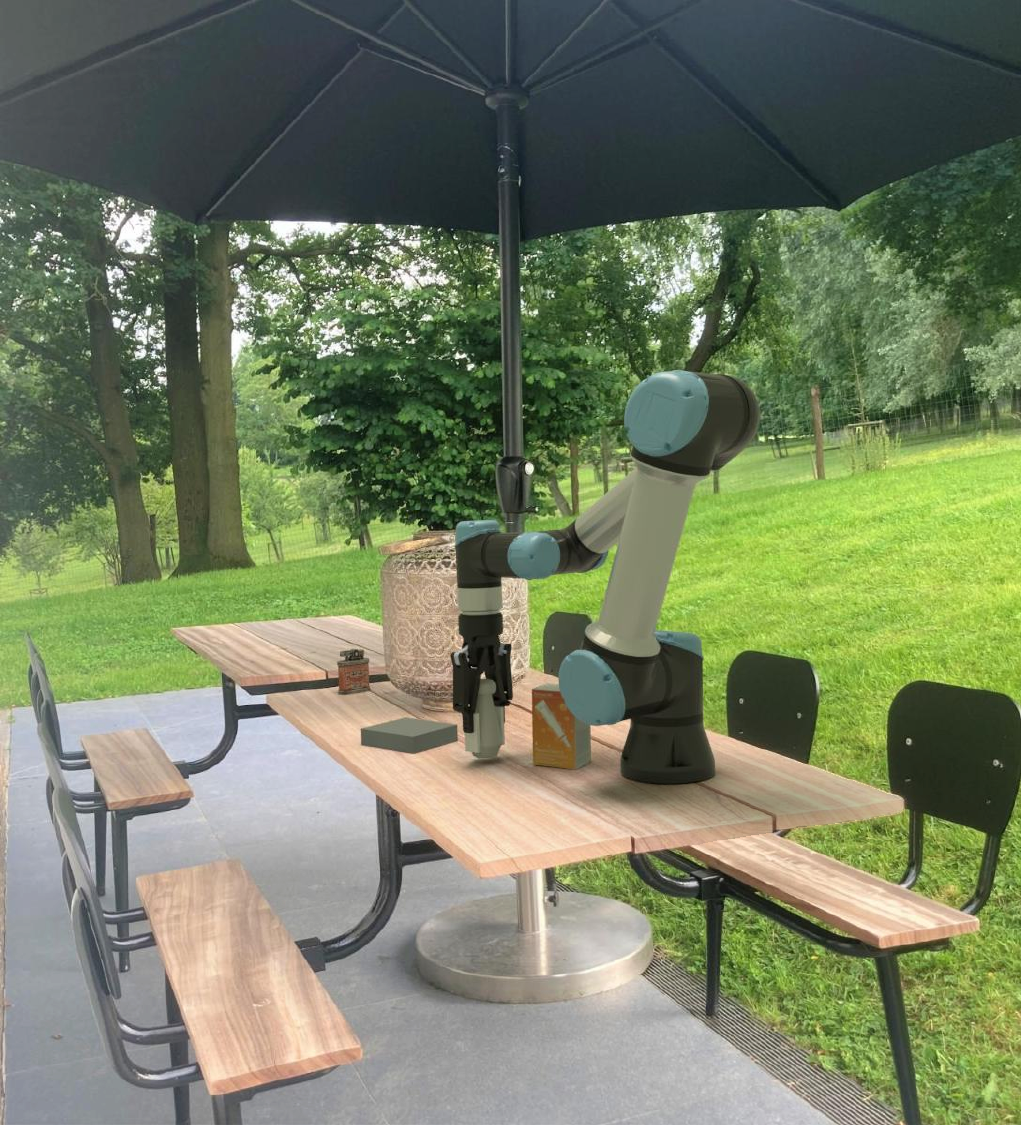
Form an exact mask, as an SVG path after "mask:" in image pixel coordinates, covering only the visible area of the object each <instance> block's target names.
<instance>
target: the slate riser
mask: <svg viewBox="0 0 1021 1125" xmlns="http://www.w3.org/2000/svg"><path fill="white" fill-rule="evenodd" d="M458 738H459V737H458V724H455V723H449V722H441V721H434V720H427V719H421V718H420V719H419V718H414V717H402V718H397V719H394V720H390V721H389V720H388V721H386V722H381V723H378V724H375V725H370V726H366V727H362V728H360V745H361V746H365V747H372V748H379V749H384V750H390V751H396V752H402V753H408V754H416V753H420V752H423V751H427V750H429V749H433V748H437V747H441V746H444V745H447V744H451V743H454V742H458V740H459V739H458Z"/></svg>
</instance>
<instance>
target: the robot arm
mask: <svg viewBox="0 0 1021 1125" xmlns="http://www.w3.org/2000/svg"><path fill="white" fill-rule="evenodd" d="M760 409H761V408H760V405H759V400H758V398H757V397H756V395H755V392H753V390H752V388H751V387H750V386H748V385H747V383H746V382H744V381H743V380H741V379H739V378H738V377H735V376H734V375H730V374H723V373H705V372H697V371H686V370H682V369H679V370H677V369H676V370H671V371H660V372H657V373H654V374H651V375H649V376H647V377H646V378H645V379H643V380H642V381H641V382H640V383H639V384H638V385H636V387H635V388H634V390H633V391H632V393H631V394H630V396H629V397H628V400H627V402H626V406H625V410H624V418H623V419H624V420H623V422H624V429H625V430H626V431H627V434H626V436H627V439H628V441H629V442H630V443H631V445H632V447H631V451H630V455H629V456H630V459H631V460H632V462H633V464H634V465H635V468H633V469H632V470H631V472H629V473H628V474H627V475H625V476H624V477H623V478H622V479H621V480H620V481H619V482H617V483H616V484H615V485H613V487H611V489H610V490H608V491H607V492H606V493H605V494H603V495H602V496H601V497H600V498H599V499H597V500H596V501H595V502H594V503H592V505H590V506H589V507H588V508H587V509H586V510H585V511H584V512H583V513H582V514H580V515H579V516H578V517H577V518H576V519H574V520H573V521H572V522H571V523H570V524H568V525H567V526H565V528H561V529H549V530H535V531H534V530H533V531H522V532H519V531H518V532H512V531H511V532H501V529H500V523H499V522H498V521H497V520H494V519H493V520H492V519H491V520H490V519H489V520H488V519H487V520H486V519H485V520H464V521H460V522H458V523H457V524H456V526H455V538H454V539H455V540H454V541H455V544H454V549H455V566H456V583H457V584H456V586H457V609H458V611H460V612H461V613H459V615H458V616H457V617H458V619H457V620H458V621H457V622H458V623H457V624H458V634H459V636H461V637H462V639H463V641H462V646H461V649H460V650H458V651H452V652H450V660H451V664H452V710H453V711H454V712H457V713H459V714H461V715H462V731H463V733H464V748H465V749H464V750H465V752H470V753H472V752H476V753H478V752H480V724H479V713H475V711H476V705H477V698H478V692H479V685H480V679H482V675H483V674H484V678H485V679H491V680H493V681H494V682H495V684H496V691H495V693H493V694H492V698H493V702H494V706H495V711H496V715H497V720H498V724H499V728H500V733H501V737H502V745H501V746H504V745H505V744H506V740H505V738H506V737H505V723H506V709H505V707H509V706H510V704H511V701H513V699H514V692H513V678H512V676H513V675H512V664H511V663H512V662H511V653H512V647H513V645H512V644H511V643H504V642H501V639H500V636H501V635H502V634H503V633H504V621H503V620H504V618H503V617H504V615H503V614H502V612H500V610H502V609H503V607H504V606H503V587H502V578H503V579H504V578H505V579H510V578H511V579H522V580H523V579H524V580H526V581H532V580H544V579H547V578H549V577H551V576H556V575H564V574H565V575H566V574H576V573H577V574H582V573H583V574H585V573H587V572H590V571H594V570H597V569H599V568H601V567H602V566H603V565H604V564H605V562H606V560H607V558H608V556H609V552H610V551H609V550H610V549H612V548H613V547H614V546H616V545H617V546H616V551H615V555H614V557H613V563H612V566H611V568H610V569H611V570H610V574H609V578H608V581H607V586H606V588H605V592H604V598H603V601H602V605H601V607H600V608H601V609H600V612H599V615H598V616H599V617H598V619H597V620H595V621H593V622H592V623H590V624H588V625H587V626H586V627H585V630H584V634H583V637H582V641H581V645H580V649H576V650H573V651H572V652H571V653H570V654H567V655H566V656H565V657H564V658H563V660H562V662H561V663H560V665H559V666H560V667H559V671H558V677H557V678H558V684H559V689H560V693H561V696H562V697H563V699H564V700H565V705H566V706H567V708H568V709H569V711H570V712H571V713H572V714H573V715H574V716H575V717H576V718H577V719H578V720H580V721H581V722H583V723H585V724H588V725H590V726H594V727H599V726H606V725H607V726H614V725H616V724H618V723H620V722H623V721H628V720H630V724H629V729H628V733H627V736H626V738H625V743H624V745H623V749H622V753H621V755H620V759H619V761H620V762H619V764H620V765H619V766H620V774H621V776H623V777H624V778H627V779H630V780H634V781H637V782H643V783H649V784H650V783H653V784H670V785H672V784H687V783H695V782H699V781H704V780H707V779H710V778H712V777H713V776H715V774H716V759H715V755H714V754H713V753H714V752H713V750H712V747H711V744H710V741H709V737H708V735H707V733H706V729H705V725H704V679H703V678H704V675H703V674H704V672H703V670H704V669H703V666H704V665H703V664H704V662H703V661H704V660H705V659H704V655H703V647H702V646H703V645H702V640H701V638H700V637H699V635H697V634H696V633H693V632H692V633H691V632H685V631H684V632H682V631H671V630H658V629H656V628H657V625H658V621H659V618H660V613H661V610H662V606H663V603H664V599H665V596H666V592H667V589H668V586H669V581H670V578H671V574H672V571H673V567H674V563H675V560H676V557H677V553H678V549H679V545H680V541H681V538H682V535H683V532H684V531H683V530H684V528H685V524H686V520H687V517H688V512H689V509H690V505H691V502H692V498H693V495H694V491H695V489H696V488H695V487H696V486H697V484H699V482H701V481H703V480H705V479H708V478H709V476H710V474H711V472H712V473H714V472H718V471H720V470H721V469H722V468H723V467H725V466H726V465H727V464H729V463H730V462H731V461H732V460H734V459H735V458H736V457H737V456H738V455H739V454H741V452H743V451H744V450H745V449H746V448H747V447H748V446H749V445H750V444H751V442H752V440H753V439H754V438H755V436H756V434H757V431H758V429H759V426H760V421H761V420H760V419H761V413H760Z"/></svg>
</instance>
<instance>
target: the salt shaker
mask: <svg viewBox="0 0 1021 1125" xmlns="http://www.w3.org/2000/svg"><path fill="white" fill-rule="evenodd" d="M495 691H496V684H495V682H494V681H493V680H491V679H486V678H481V679H480V685H479V692H478V698H477V705H476V711H475V713H479V724H480V752H478V753H476V752H471V754H472V756H473V757H475V758H477V759H491V758H495V757H497V756H498V754H499V751H500V748H501V746H503V745H502V737H501V733H500V728H499V724H498V720H497V715H496V711H495V706H494V702H493V698H492V694H493V693H495Z"/></svg>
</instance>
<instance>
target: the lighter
mask: <svg viewBox="0 0 1021 1125" xmlns="http://www.w3.org/2000/svg"><path fill="white" fill-rule="evenodd" d="M364 656H365V648H364V649H362V648H361V649H360V648H359V649H358V648H354V647H353V648H351V649H350V650H349V649H347V650H341V651H340V652H339V657H341V658H342V657H343V658H344V659H342V660H337V661H336V662H337V663H336V664H337V667H338V668H337V669H338V670H337V671H338V673H337V674H338V675H337V676H338V689H337V691H338V692H337V693H338V694H337V695H340V696H345V695H346V696H347V695H354V694H362V693H366V692H370V691H371V686H370V670H369V669H370V665H369V663H370V658H369V657H364Z"/></svg>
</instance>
